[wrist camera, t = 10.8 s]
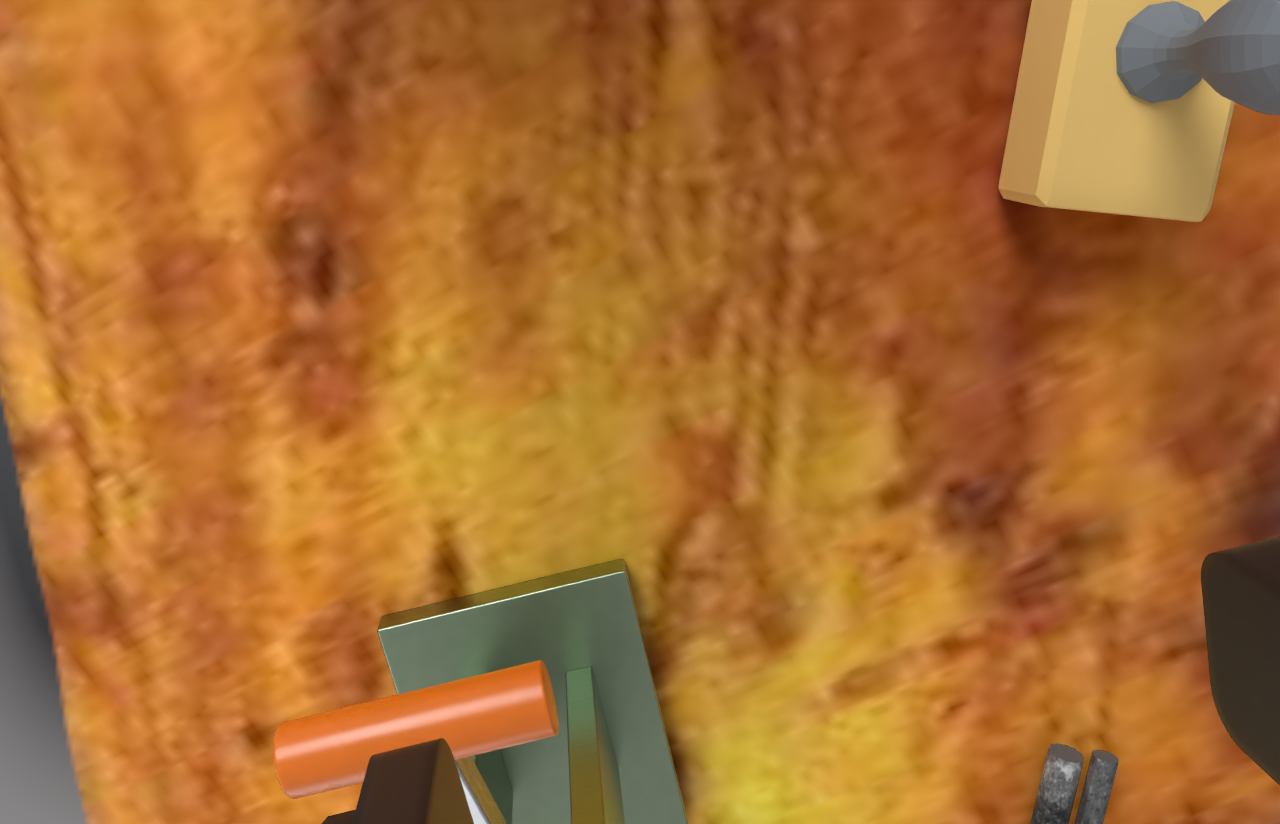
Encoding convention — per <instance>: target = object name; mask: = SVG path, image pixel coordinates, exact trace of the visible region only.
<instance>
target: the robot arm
mask: <svg viewBox="0 0 1280 824" xmlns="http://www.w3.org/2000/svg"><path fill="white" fill-rule="evenodd" d="M1201 584H1202V595H1203V606H1204V616H1205V627H1206V638H1207V649H1208V660H1209V671H1210V682H1211V690H1212V695H1213V699H1214V702H1215V705H1216V708H1217V711H1218V714H1219V716H1220V718H1221V720H1222V722H1223V724H1224V726H1225V728H1226V730H1227V732H1228V733H1229V735H1230V736H1231V738H1232V739H1233V740H1234V742H1235V743H1236V744H1237V745H1238V746H1239V748H1240V749H1241V750H1242V751H1243V752H1245V753H1246V754H1247V755H1248V756H1249V757H1250V758H1251V759H1252V760H1253V761H1254V762H1255V763H1256V764H1257V765H1258V766H1260V767H1261V768H1262V769H1263V770H1264V771H1265V772H1266V773H1267V774H1268V775H1269V776H1270V777H1271V778H1272V779H1273V780H1275V781H1276V782H1277V783H1278V784H1279V785H1280V537H1275V538H1271V539H1267V540H1263V541H1259V542H1255V543H1251V544H1247V545H1243V546H1238V547H1234V548H1230V549H1226V550H1222V551H1218V552H1214V553H1211V554H1209V555H1207V556H1206V558H1205V559H1204V561H1203V564H1202V569H1201ZM322 824H474V821H473V818H472V815H471V812H470V808H469V805H468V802H467V799H466V795H465V792H464V789H463V786H462V782H461V779H460V776H459V773H458V769H457V766H456V763H455V760H454V757H453V754H452V752H451V749H450V747H449V745H448V743H447V742H446V740H445V739H443V738H440V739H436V740H432V741H428V742H423V743H419V744H415V745H411V746H407V747H403V748H399V749H395V750H390V751H386V752H382V753H378V754H374V755H372V756H371V758H370V760H369V763H368V766H367V770H366V774H365V778H364V782H363V785H362V789H361V793H360V797H359V801H358V804H357V808H356V810H353V811H348V812H344V813H340V814H336V815H332V816H328V817H327V818H326V819H325V821H324V822H323V823H322Z"/></svg>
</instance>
